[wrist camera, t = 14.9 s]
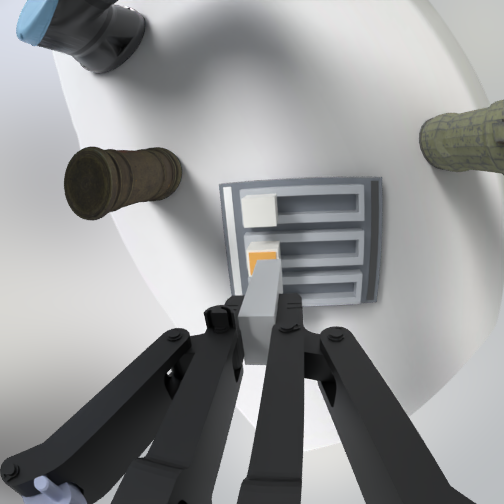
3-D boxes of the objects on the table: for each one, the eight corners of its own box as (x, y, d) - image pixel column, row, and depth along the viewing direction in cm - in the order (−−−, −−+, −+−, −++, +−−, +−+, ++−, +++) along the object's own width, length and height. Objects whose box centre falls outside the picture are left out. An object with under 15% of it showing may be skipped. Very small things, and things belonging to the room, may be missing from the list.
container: (192, 168, 41) (129, 174, 24) (161, 210, 44) (93, 239, 27) (154, 136, 40) (81, 129, 23) (127, 178, 43) (52, 192, 26)
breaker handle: (253, 236, 41) (245, 250, 34) (280, 235, 40) (277, 249, 34) (255, 259, 42) (248, 277, 35) (282, 259, 41) (279, 276, 35)
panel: (222, 183, 41) (204, 188, 33) (378, 176, 37) (398, 180, 29) (235, 301, 47) (223, 328, 39) (373, 296, 43) (387, 323, 35)
